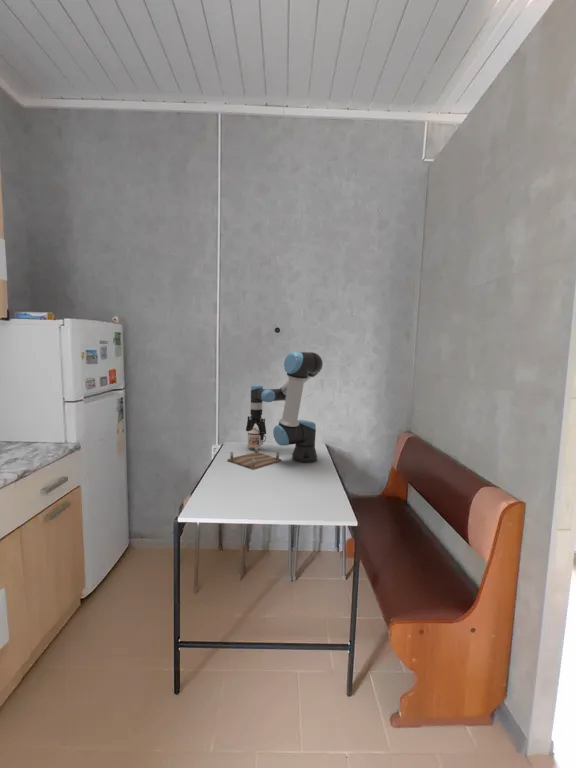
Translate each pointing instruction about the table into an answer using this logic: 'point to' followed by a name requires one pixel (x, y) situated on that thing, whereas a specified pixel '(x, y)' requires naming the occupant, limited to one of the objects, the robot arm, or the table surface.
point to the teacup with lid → (254, 438)
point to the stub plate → (258, 460)
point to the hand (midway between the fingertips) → (255, 443)
